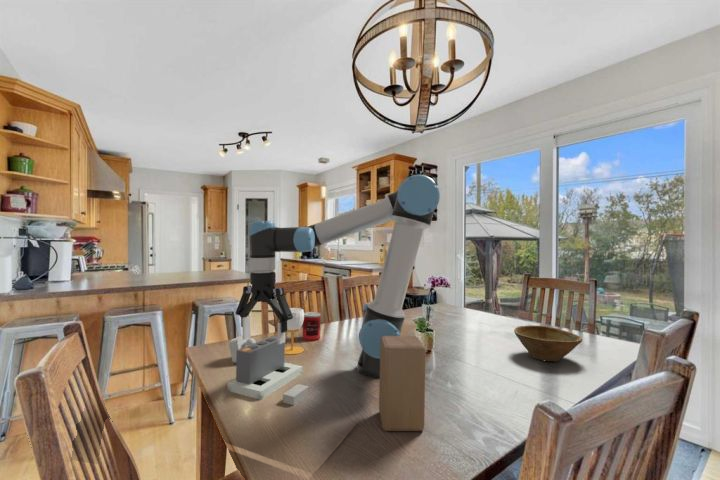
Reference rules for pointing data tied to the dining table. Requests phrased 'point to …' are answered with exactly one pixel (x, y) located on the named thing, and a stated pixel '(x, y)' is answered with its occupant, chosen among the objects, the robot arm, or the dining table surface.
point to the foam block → (295, 394)
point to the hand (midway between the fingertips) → (263, 340)
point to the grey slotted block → (259, 360)
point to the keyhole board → (267, 382)
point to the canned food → (311, 326)
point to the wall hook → (239, 345)
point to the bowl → (547, 341)
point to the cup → (294, 329)
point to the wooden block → (402, 383)
